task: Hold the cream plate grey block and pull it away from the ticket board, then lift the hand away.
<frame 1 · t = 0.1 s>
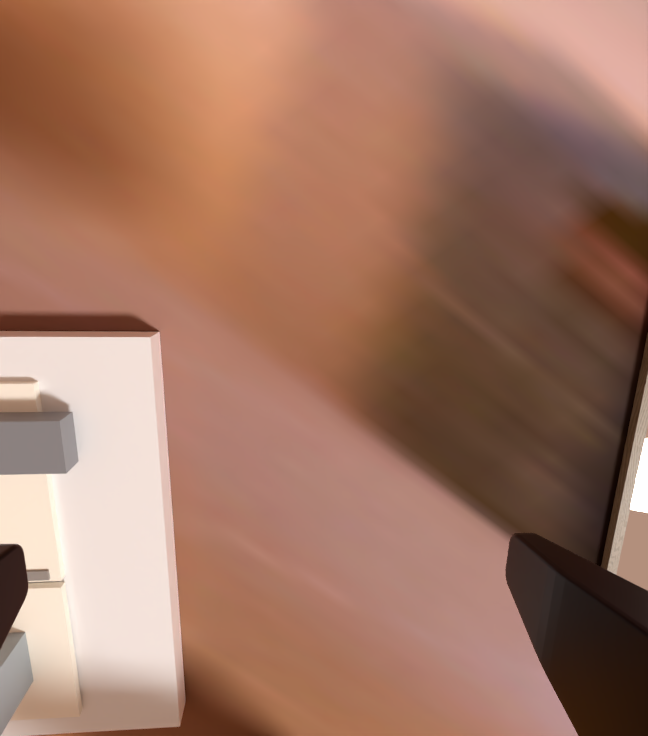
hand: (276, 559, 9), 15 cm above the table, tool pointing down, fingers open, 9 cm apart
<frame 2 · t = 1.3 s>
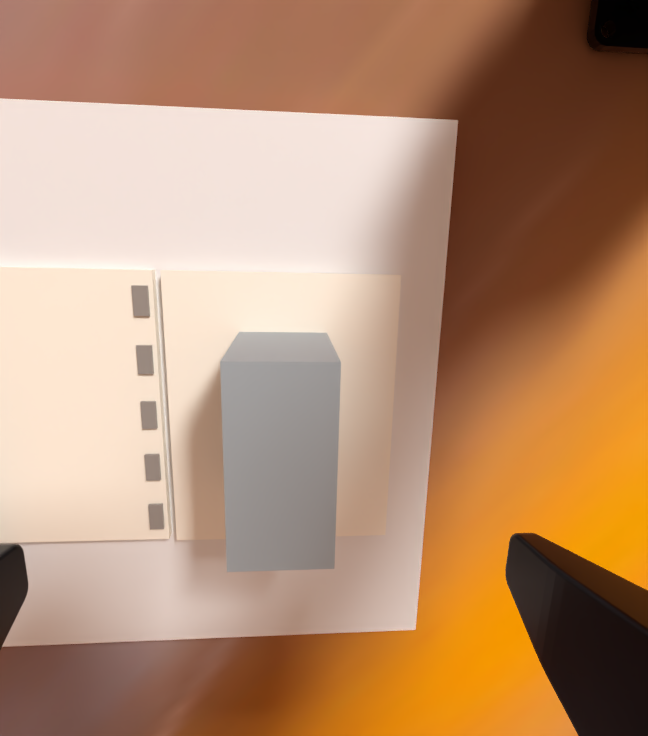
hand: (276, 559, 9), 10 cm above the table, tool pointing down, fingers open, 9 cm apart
ticket board: (148, 398, 18), on the table
cream plate grey block: (282, 436, 15), point 4 cm above the table, slide at 0.0 cm
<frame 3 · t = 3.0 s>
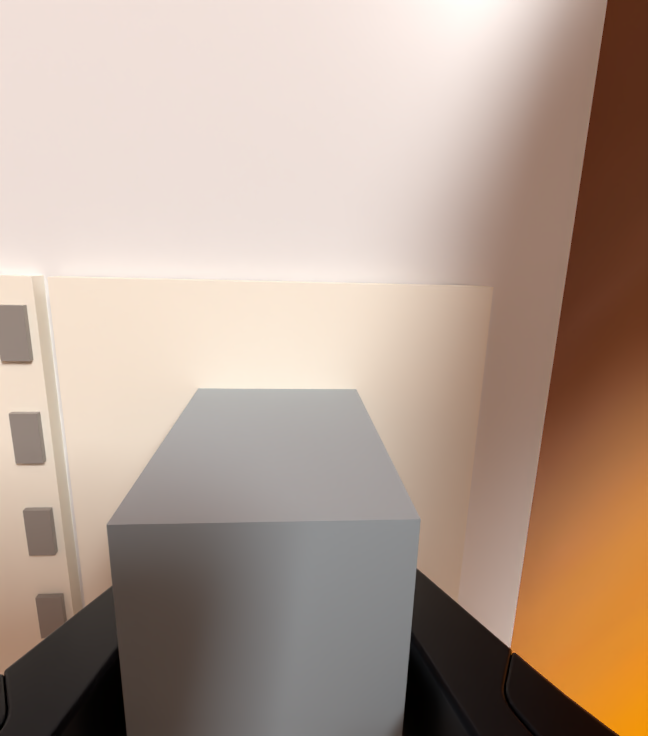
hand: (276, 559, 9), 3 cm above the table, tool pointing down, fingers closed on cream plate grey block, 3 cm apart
ticket board: (57, 484, 11), on the table
cream plate grey block: (274, 600, 8), point 4 cm above the table, slide at 0.0 cm, touching gripper
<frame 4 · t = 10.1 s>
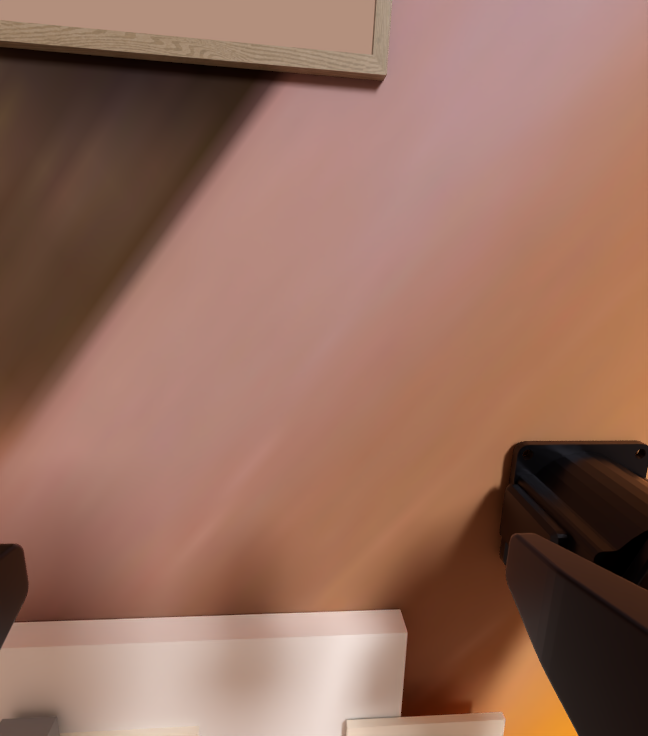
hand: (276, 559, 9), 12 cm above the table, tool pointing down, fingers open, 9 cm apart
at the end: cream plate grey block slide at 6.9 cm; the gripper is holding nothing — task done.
